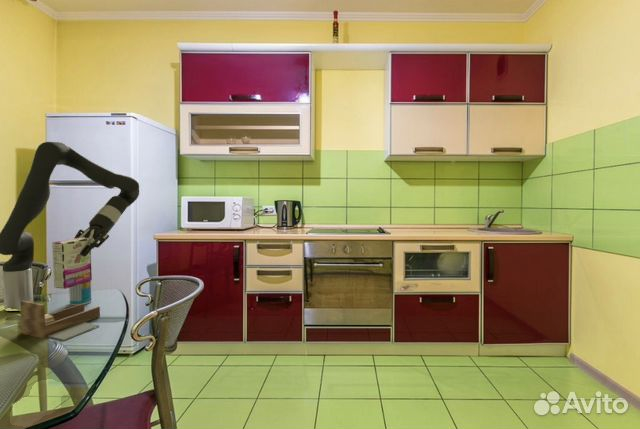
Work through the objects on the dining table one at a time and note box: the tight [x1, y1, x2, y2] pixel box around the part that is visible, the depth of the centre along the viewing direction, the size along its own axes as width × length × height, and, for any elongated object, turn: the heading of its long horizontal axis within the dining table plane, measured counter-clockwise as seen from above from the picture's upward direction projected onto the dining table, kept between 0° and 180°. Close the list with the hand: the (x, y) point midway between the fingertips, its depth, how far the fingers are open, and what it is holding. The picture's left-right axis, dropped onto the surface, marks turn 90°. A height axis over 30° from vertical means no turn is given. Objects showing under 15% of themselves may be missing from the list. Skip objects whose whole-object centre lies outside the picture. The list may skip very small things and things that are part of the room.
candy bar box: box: [51, 237, 93, 290], centre depth 124 cm, size 11×5×16 cm, turn 167°
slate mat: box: [47, 322, 100, 342], centre depth 126 cm, size 8×13×1 cm, turn 161°
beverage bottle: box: [68, 280, 92, 306], centre depth 155 cm, size 8×8×20 cm
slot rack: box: [20, 300, 101, 340], centre depth 132 cm, size 11×22×12 cm, turn 161°
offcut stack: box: [45, 313, 55, 325], centre depth 125 cm, size 6×5×5 cm
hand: (76, 254), depth 125 cm, fingers closed on candy bar box, 5 cm apart
